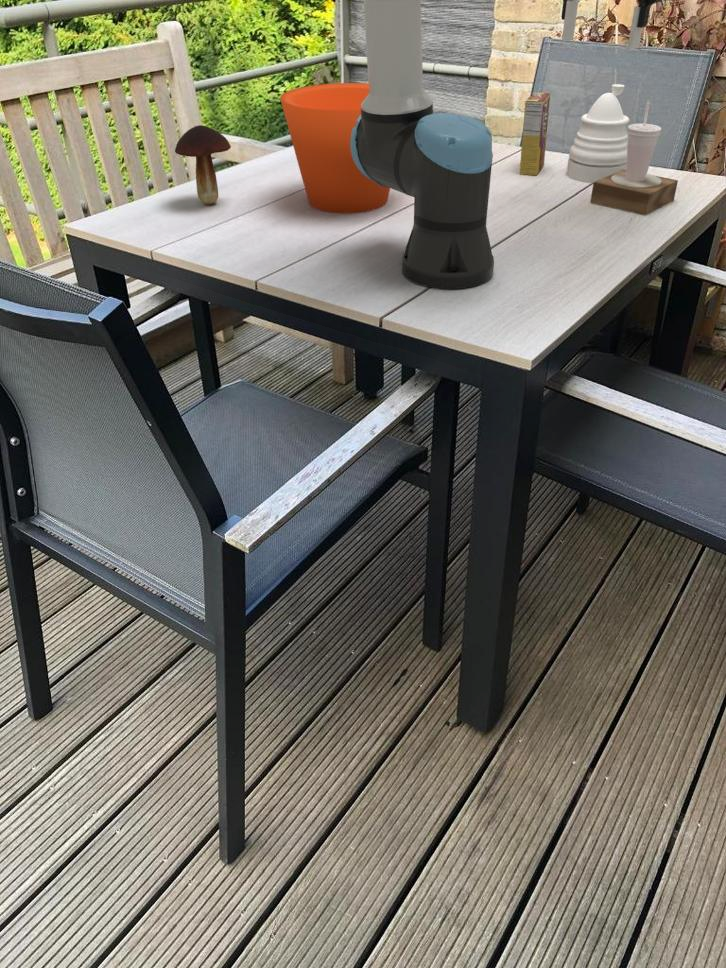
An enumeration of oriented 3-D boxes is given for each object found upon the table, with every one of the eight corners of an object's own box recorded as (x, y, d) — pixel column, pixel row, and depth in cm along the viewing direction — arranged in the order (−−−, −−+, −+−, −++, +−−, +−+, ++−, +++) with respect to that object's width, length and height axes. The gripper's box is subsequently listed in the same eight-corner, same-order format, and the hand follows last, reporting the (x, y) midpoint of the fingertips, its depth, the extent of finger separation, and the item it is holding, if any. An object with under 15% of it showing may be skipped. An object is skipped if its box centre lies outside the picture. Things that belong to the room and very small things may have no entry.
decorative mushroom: (188, 215, 162) (177, 134, 153) (177, 199, 170) (166, 122, 162) (242, 208, 165) (234, 128, 157) (228, 193, 174) (220, 116, 165)
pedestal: (645, 215, 159) (649, 192, 157) (590, 202, 166) (593, 180, 163) (673, 200, 166) (678, 178, 164) (619, 189, 173) (623, 167, 170)
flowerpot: (267, 214, 162) (259, 106, 150) (311, 179, 181) (307, 80, 170) (390, 225, 156) (391, 113, 144) (421, 187, 175) (425, 86, 164)
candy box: (525, 164, 189) (532, 91, 180) (544, 165, 188) (552, 92, 179) (517, 174, 182) (524, 100, 173) (537, 176, 181) (545, 101, 172)
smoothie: (648, 174, 166) (663, 99, 158) (654, 184, 161) (669, 106, 153) (616, 174, 167) (629, 99, 158) (621, 183, 161) (634, 106, 153)
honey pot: (608, 165, 188) (622, 78, 177) (637, 180, 178) (654, 90, 167) (556, 169, 185) (567, 82, 175) (583, 186, 175) (596, 94, 165)
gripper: (702, -98, 133) (672, 49, 145) (569, -99, 147) (553, 35, 159) (680, -98, 129) (651, 54, 141) (545, -99, 143) (530, 39, 155)
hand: (599, 44), depth 150 cm, fingers open, 13 cm apart
